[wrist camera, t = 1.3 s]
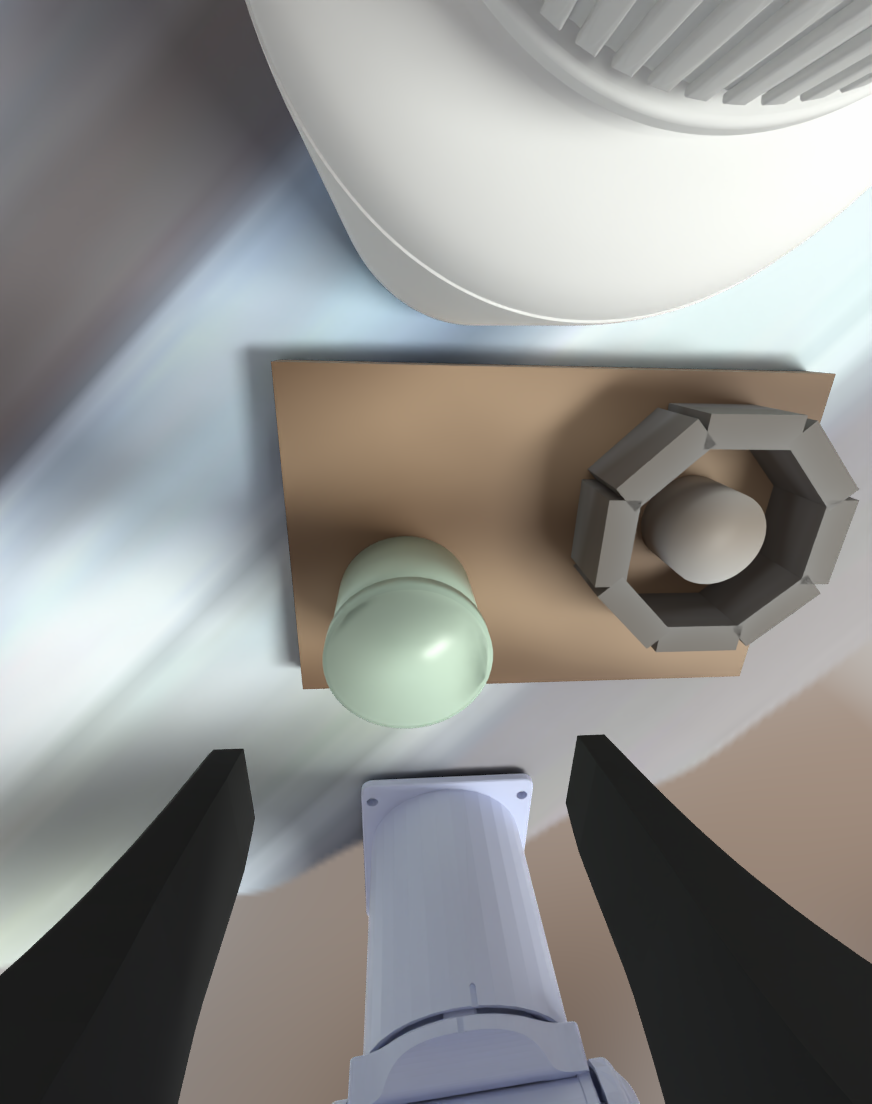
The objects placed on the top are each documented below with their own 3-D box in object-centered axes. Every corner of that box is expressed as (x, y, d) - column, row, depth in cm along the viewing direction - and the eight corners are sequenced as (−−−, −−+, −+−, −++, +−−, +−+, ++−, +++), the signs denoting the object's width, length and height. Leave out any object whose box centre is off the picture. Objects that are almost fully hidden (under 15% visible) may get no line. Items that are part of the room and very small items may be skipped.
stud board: (722, 659, 22) (779, 715, 19) (307, 670, 21) (291, 733, 18) (807, 371, 18) (903, 380, 14) (279, 359, 16) (250, 366, 13)
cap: (469, 652, 20) (487, 725, 16) (340, 656, 19) (327, 731, 16) (476, 533, 18) (499, 585, 14) (332, 533, 17) (316, 587, 14)
